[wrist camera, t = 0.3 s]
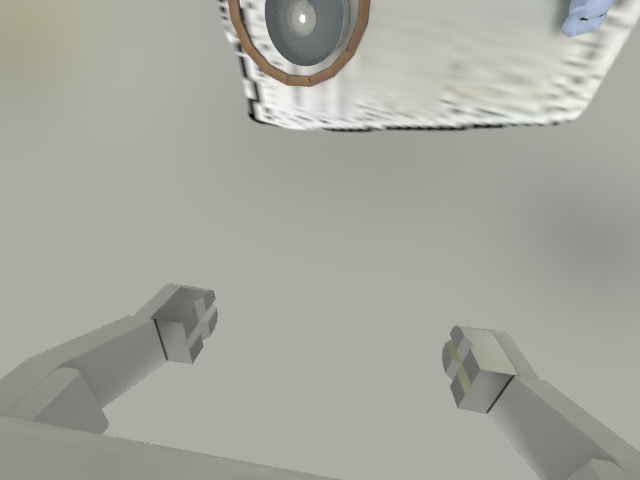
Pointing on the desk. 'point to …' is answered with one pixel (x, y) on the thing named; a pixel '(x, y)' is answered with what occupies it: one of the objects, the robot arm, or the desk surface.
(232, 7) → the locating ring
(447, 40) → the desk surface
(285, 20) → the metal cover
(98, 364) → the robot arm
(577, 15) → the hippopotamus toy
